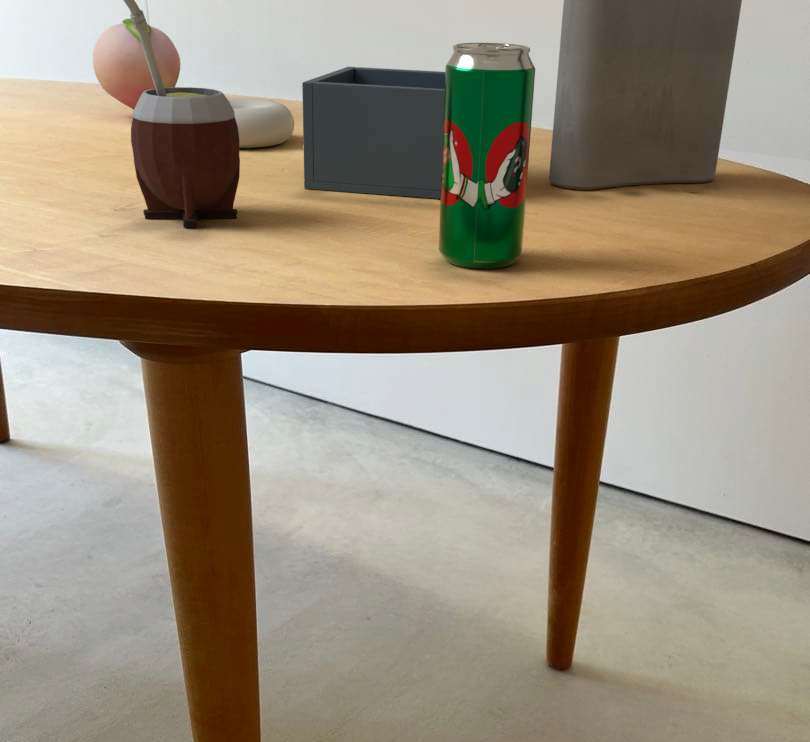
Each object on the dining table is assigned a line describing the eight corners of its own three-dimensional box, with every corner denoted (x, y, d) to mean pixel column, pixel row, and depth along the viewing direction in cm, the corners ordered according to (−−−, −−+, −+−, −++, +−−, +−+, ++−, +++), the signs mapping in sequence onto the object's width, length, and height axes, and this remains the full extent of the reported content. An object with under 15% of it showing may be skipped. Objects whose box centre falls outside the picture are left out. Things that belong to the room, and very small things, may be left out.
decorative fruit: (89, 112, 116) (78, 6, 111) (166, 109, 119) (158, 6, 115) (111, 125, 109) (100, 13, 104) (192, 121, 112) (185, 12, 107)
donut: (306, 151, 100) (282, 131, 108) (305, 110, 98) (281, 93, 106) (194, 154, 97) (179, 133, 105) (192, 112, 95) (176, 94, 104)
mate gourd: (242, 205, 79) (231, -30, 72) (243, 232, 72) (231, -26, 65) (135, 206, 78) (114, -33, 71) (126, 232, 72) (101, -29, 64)
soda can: (525, 252, 69) (541, 44, 64) (516, 274, 65) (531, 52, 59) (446, 247, 70) (454, 40, 65) (431, 267, 66) (439, 47, 60)
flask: (685, 168, 96) (722, -98, 86) (726, 181, 91) (771, -99, 82) (532, 177, 91) (554, -105, 81) (568, 192, 86) (595, -106, 76)
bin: (481, 172, 92) (486, 73, 89) (451, 200, 83) (456, 91, 79) (347, 162, 95) (347, 66, 91) (304, 188, 85) (301, 82, 81)
